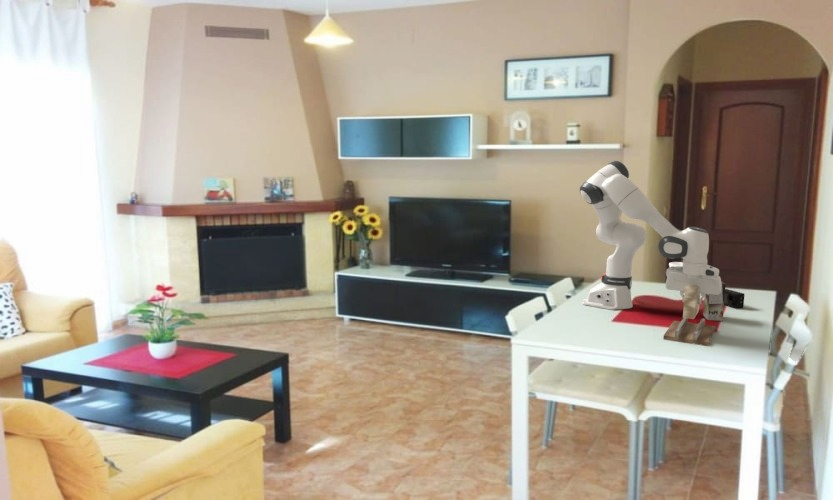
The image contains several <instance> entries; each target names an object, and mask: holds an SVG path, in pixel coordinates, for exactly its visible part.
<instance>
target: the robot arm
mask: <svg viewBox="0 0 833 500" xmlns="http://www.w3.org/2000/svg"><path fill="white" fill-rule="evenodd" d="M629 177H630V172H629V170H628V168H627V167H626V165H625V164H624V163H622V161H618V160H613V161H611V162H609V163H607V165H605V166H603V167H601V168H600V169H598V170H597V171H596V172H595V173H594V174H592V175H591V176H590V177H589V178H588V179H587V180H585V181H584V182H583V183H582V184H581V185H580V187H579V195H580V196H581V197H582V199H583V200H584V201H585V203H587V204H588V205H591V206H592V208H593V209H594V212H595V214H596V216H597V218H598V222H599V223H598V225H597V226H596V229H595V235H596V238H597V239H598V241H600V242H603V243H604V244H606V245H612V246H616V247H615V250H614V252H613V253H612V254H610V255H609V256H607V259H606V267H605V268H606V269H605V273H603V274H602V275H601V277H600V280H601V282H599V283H598V284H596V285H595V286H593V287H592V288H590V290H589V291H588V295H587V297H586V298H584V299H583V300H582V305H585V306H589V307H595V308H601V309H605V310H610V311H611V310H612V311H616V310H627V309H632V308H633V307H634V304H633V301H632V292H631V289H632V286H633V285H632V284H633V276H632V265H633V259H634V256H635V255H636V252H637V251H638V250H639V249H640V248H642V247H643V246H644V244H646V241H647V238H648V237H647V236H648V235H647V234H648V233H647V231H646V229H645V228H644V227H643V226H641V225H639V224H635V223H630V222H624V221H622V220H621V219H620V218H621V215H622V213H623V214H624V215H625V216H627V217H628V218H630V219H635V220H639V221H643V222H644V223H646V224H648V225H649V226H651V228H652V229H654V231H655V232H656V233H658V234H659V235H660V236H661V239H659V242H658V245H657V248H658V252H659V253H660V255H661V256H662V257H664V258H665V259H672V260H673V259H682V262H683V267H668V268H666V271H665V275H666V280H665V288H666V290H668V291H676V292H677V291H679V295H680V296H681V300H682V303H684V295H685V287H686V286H687V285H692V286H698V293H700V299H698V300H697V304H699V305H702V304H703V300H704V297H705V294H712V295H719V294H720V293H721V281H722V278H721V276H720V275H719V274H720V269H719V268H717V267H715V266H712V265H709V264H708V253H709V249H710V248H709V247H710V238H709V233H708V231H707V230H706V229H704V228H702V227H697V226H688V227H687V228H685V229H683V230H682V229H679V228H677V227H676V226H675V225H674V224H673V223H671V221H670V220H669V219H667V218H666V217H665V216H664V215H663V214H662V213H661V212H660V211H659V210H658V209H657V208H656V207H655V205H653V203H652V202H651V201H650V200H649V198H648V197H647V196H646V195H645V193H644V192H643V191H642V190H641V189H640V188H639V187H638V186H637V184H635V183H634V182H633V181H632V180H630V179H629ZM675 269H676V270H675Z"/></svg>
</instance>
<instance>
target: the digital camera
mask: <svg viewBox="0 0 833 500" xmlns="http://www.w3.org/2000/svg"><path fill="white" fill-rule="evenodd" d="M745 296H746V295H745V293H743V292H740V291H736V290H732V289H728V288H725V297H724V306H725V307H727V308H732V309H736V310H741V309H744V306H745V304H744V303H745Z"/></svg>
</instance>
